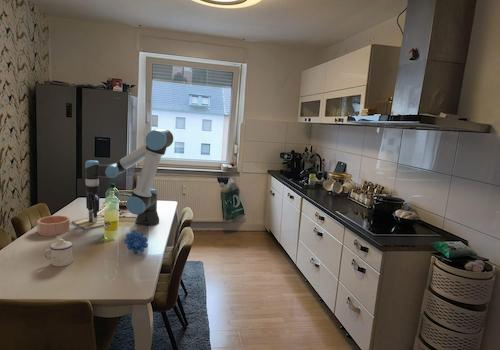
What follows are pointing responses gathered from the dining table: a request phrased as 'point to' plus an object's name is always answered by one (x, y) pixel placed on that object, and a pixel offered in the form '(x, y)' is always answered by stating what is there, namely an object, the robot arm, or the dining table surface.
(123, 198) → the food container
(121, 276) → the dining table surface
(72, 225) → the slate mat
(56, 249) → the teacup with lid
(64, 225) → the terracotta bowl
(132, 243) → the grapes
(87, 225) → the oak lid
